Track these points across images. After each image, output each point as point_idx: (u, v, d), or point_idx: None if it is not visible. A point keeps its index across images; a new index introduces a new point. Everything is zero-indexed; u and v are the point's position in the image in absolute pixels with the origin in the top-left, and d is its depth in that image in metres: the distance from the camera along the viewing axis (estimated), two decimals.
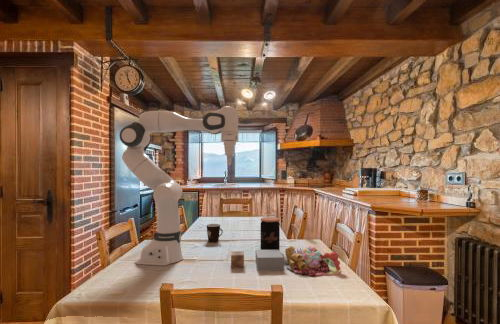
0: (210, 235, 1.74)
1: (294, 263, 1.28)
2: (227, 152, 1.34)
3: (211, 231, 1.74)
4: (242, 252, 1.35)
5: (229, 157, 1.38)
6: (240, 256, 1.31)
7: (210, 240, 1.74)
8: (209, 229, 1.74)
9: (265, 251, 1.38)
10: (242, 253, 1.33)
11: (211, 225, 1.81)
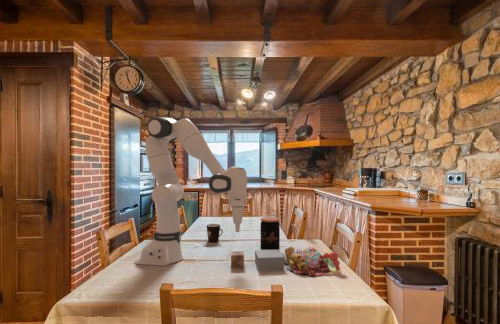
0: (210, 235, 1.74)
1: (294, 263, 1.28)
2: (235, 221, 1.24)
3: (211, 231, 1.74)
4: (242, 252, 1.35)
5: (237, 224, 1.27)
6: (240, 256, 1.31)
7: (210, 240, 1.74)
8: (209, 229, 1.74)
9: (264, 251, 1.38)
10: (242, 253, 1.33)
11: (211, 225, 1.81)
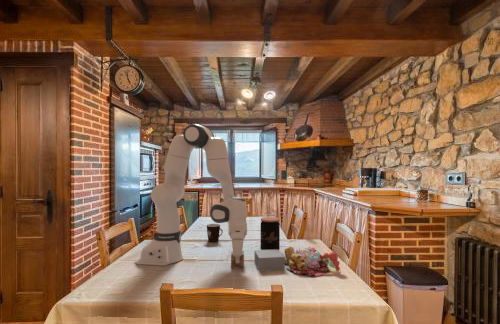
0: (210, 235, 1.74)
1: (293, 263, 1.28)
2: (235, 254, 1.24)
3: (211, 231, 1.74)
4: (242, 252, 1.35)
5: None
6: (240, 256, 1.31)
7: (210, 240, 1.74)
8: (209, 229, 1.74)
9: (264, 251, 1.38)
10: (242, 253, 1.33)
11: (211, 225, 1.81)
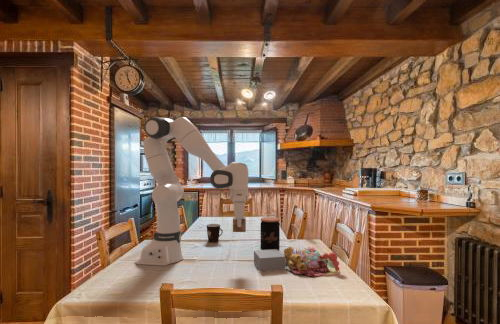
0: (210, 235, 1.74)
1: (293, 264, 1.27)
2: (237, 216, 1.24)
3: (211, 231, 1.74)
4: (244, 217, 1.35)
5: (239, 219, 1.28)
6: (242, 220, 1.31)
7: (210, 240, 1.74)
8: (209, 229, 1.74)
9: (263, 251, 1.38)
10: (244, 218, 1.33)
11: (211, 225, 1.81)
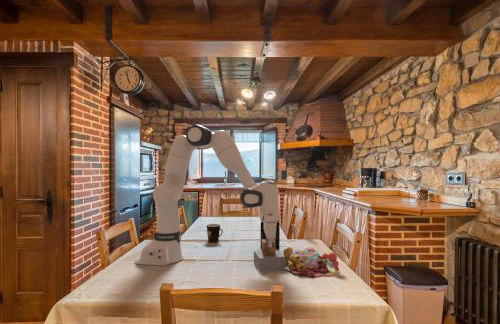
0: (210, 235, 1.74)
1: (292, 264, 1.27)
2: (269, 236, 1.24)
3: (211, 231, 1.74)
4: (273, 240, 1.35)
5: (270, 239, 1.28)
6: (272, 243, 1.31)
7: (210, 240, 1.74)
8: (209, 229, 1.74)
9: None
10: (273, 241, 1.33)
11: (211, 225, 1.81)
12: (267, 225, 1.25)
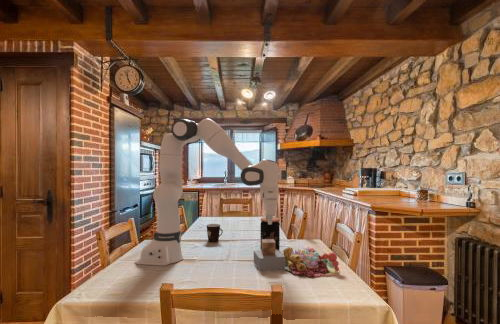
0: (210, 235, 1.74)
1: (292, 264, 1.27)
2: (269, 213, 1.24)
3: (211, 231, 1.74)
4: (272, 240, 1.36)
5: (270, 216, 1.28)
6: (272, 243, 1.31)
7: (210, 240, 1.74)
8: (209, 229, 1.74)
9: None
10: (273, 241, 1.33)
11: (211, 225, 1.81)
12: (267, 201, 1.25)
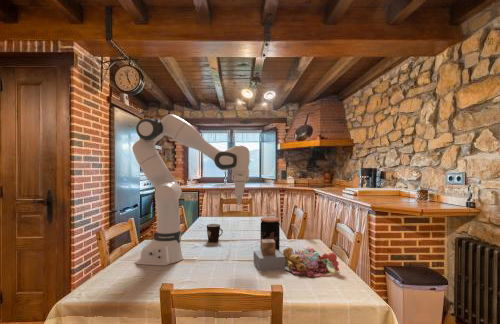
0: (210, 235, 1.74)
1: (292, 264, 1.27)
2: (237, 193, 1.35)
3: (211, 231, 1.74)
4: (272, 240, 1.36)
5: (239, 197, 1.38)
6: (271, 243, 1.31)
7: (210, 240, 1.74)
8: (209, 229, 1.74)
9: None
10: (273, 241, 1.33)
11: (211, 225, 1.81)
12: (236, 183, 1.36)
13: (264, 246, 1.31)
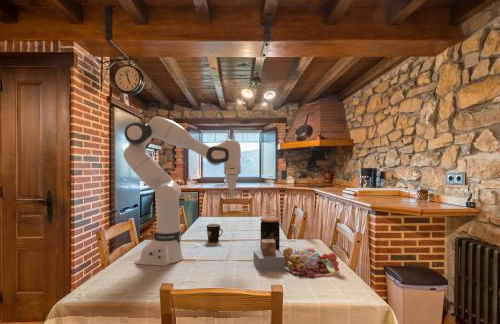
0: (210, 235, 1.74)
1: (292, 264, 1.27)
2: (230, 186, 1.38)
3: (211, 231, 1.74)
4: (272, 240, 1.35)
5: (232, 190, 1.41)
6: (272, 243, 1.31)
7: (210, 240, 1.74)
8: (209, 229, 1.74)
9: None
10: (273, 241, 1.33)
11: (211, 225, 1.81)
12: (228, 176, 1.39)
13: (264, 246, 1.31)
